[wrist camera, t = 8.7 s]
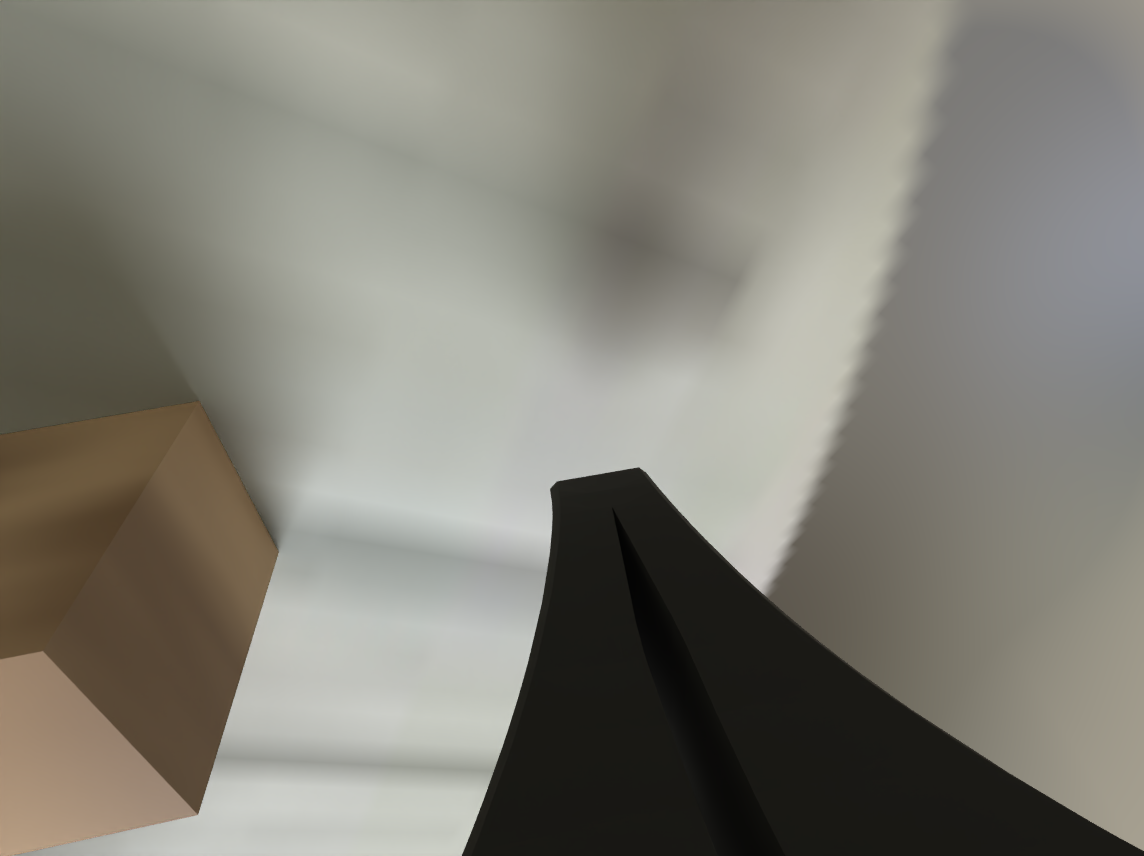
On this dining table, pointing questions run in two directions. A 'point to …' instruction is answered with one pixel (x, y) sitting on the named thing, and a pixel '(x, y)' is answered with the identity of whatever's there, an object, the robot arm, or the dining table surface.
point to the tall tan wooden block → (119, 620)
